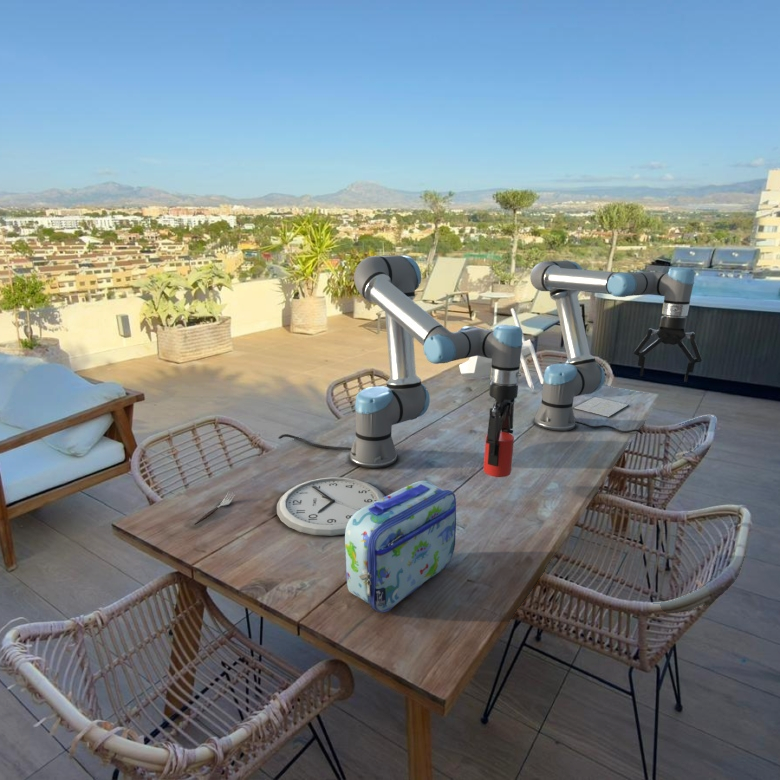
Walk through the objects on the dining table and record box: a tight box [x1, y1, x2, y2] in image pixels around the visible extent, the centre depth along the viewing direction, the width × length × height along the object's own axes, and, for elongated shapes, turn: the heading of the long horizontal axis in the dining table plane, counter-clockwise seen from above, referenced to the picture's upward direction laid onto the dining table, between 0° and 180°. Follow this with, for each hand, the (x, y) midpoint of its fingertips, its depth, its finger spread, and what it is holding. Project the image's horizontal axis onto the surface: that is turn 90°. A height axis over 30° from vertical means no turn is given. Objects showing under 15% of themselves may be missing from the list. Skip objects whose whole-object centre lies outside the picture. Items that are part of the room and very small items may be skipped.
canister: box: [483, 431, 515, 478], centre depth 148 cm, size 8×8×11 cm
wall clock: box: [276, 476, 386, 537], centre depth 142 cm, size 30×2×30 cm
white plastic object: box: [458, 307, 544, 393], centre depth 255 cm, size 37×45×31 cm
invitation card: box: [573, 396, 629, 418], centre depth 226 cm, size 21×1×15 cm
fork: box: [193, 490, 237, 526], centre depth 138 cm, size 3×16×2 cm, turn 160°
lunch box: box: [344, 480, 457, 614], centre depth 109 cm, size 26×11×21 cm, turn 135°
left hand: (498, 459), depth 149 cm, fingers closed on canister, 8 cm apart
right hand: (662, 378), depth 178 cm, fingers open, 13 cm apart
